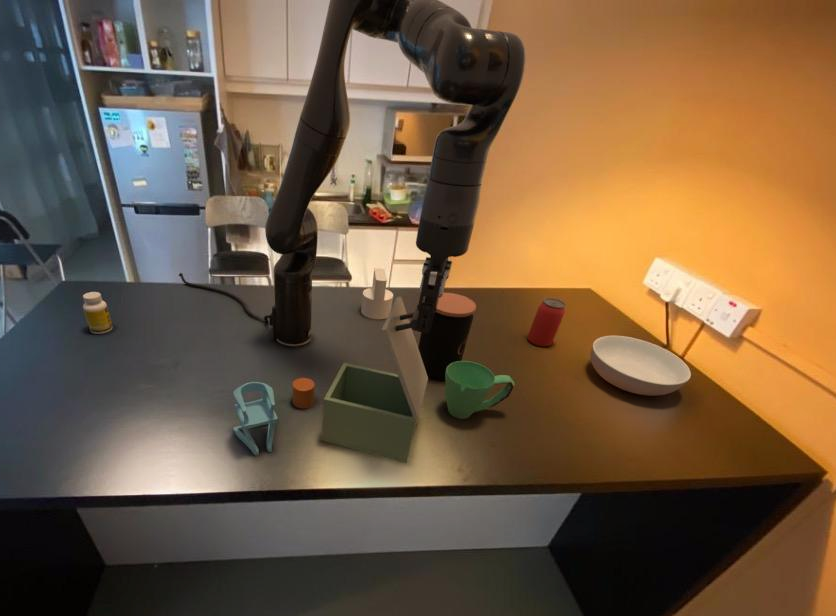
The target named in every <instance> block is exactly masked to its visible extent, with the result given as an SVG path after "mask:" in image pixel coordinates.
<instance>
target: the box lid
mask: <svg viewBox="0 0 836 616" xmlns="http://www.w3.org/2000/svg"><path fill="white" fill-rule="evenodd" d="M418 315H419V311H418V308H417V307H416V308H415V309H414V311H413V312H408V313H407V310H406V307H405V304H404V301H403V297H402V296H397V297H396V299H395V301H394V303H393V304H392V307H391V311H390V313H389V316H388V318H386V320H385V322H384V324H383V326H382V328H381V333H382V335H383V338H384V340H385V344H386V346H387V350H388V352H389V354H390V358H391V360H392V364H393V365H394V366H393V367H394V368H395V371H396V374H398V376H399V379H400V382H401V385H402V387H403V390H404V393H405V395H406V398H407V401H408V404H409V406H410V409H411V412H412V414H413V417H414V419H417V420H418V419H419V417H420V414H421V410H422V406H423V402H424V398H425V393H426V389H427V386H428V381H429V377H428V376H427V373H426V370H425V367H424V364H423V361H422V358H421V355H420V352H419V349H418V346H419V345H418V343H417V341H416V340H417V339H416V337H415V334H414V332H413V331H415V332H418V331H417V330H416V325H417V320H418ZM410 319H411V320H410Z"/></svg>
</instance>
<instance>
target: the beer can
mask: <svg viewBox="0 0 836 616" xmlns="http://www.w3.org/2000/svg"><path fill="white" fill-rule="evenodd" d="M565 313H566V303H565V302H564V301H562V300H561V299H558V298H553V297H547V298H544V299H543V300H542V301H541V303H540V304H539V306H538V307H537V310H536V313H535V315H534V318H533V321H532V324H531V326H530V329H529V332H528V335H527V340H528V341H529V342H530V343H531V344H533V345H534V346H536V347H537V346H538V347H542V348H543V347H545V348H546V347H550V346H552V344H553V343H554V340H555V337H556V335H557V332H558V331H559V328H560V326H561V323H562V321H563V318H564V316H565Z"/></svg>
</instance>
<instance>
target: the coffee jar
mask: <svg viewBox="0 0 836 616" xmlns="http://www.w3.org/2000/svg"><path fill="white" fill-rule="evenodd" d="M476 309H477V304H476V303H475V302H474V301H473V300H472V299H471V298H469V297H467V296H465V295H461V294H458V293H453V292H443V295H442V297H440V298H439V300H438V304H437V310H436V311H435V313H434V316H433V321H432V325H431V330H430V332H429V333H423V332H420V337H419V342H418V345H417V346H418V349H419V352H420V355H421V358H422V361H423V364H424V367H425V370H426V373H427V376H428V379H433V380H437V381H438V380H439V381H445V372H446V369H447V366H448V365H450V364H451V363H453V362H457V361H463V356H464V353H465V348H466V345H467V342H468V339H469V334H470V331H471V327H472V324H473V320H474V314H475V312H476Z"/></svg>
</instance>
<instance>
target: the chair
mask: <svg viewBox="0 0 836 616" xmlns="http://www.w3.org/2000/svg"><path fill="white" fill-rule="evenodd" d="M256 391H257V392H260V391H261V392H262V395H261V398H260V399H256V400H252V401H248V402H245V401H244V397H243V395H245V394H247V393H251V392H256ZM233 396H234V398H235V400H236V403H235V404H234V410H235V412H236V414H237V418H238V420H239V423H240V425H238V426H237V425H236V426H234V427H233V433H234V435H235V436H236V437H237V438H238V439H239V440H240V441H241V442H242V443H243V444H244V445H245V446H246V447H247V448H248V449H249V450H250V451H251V452H252V454H253V455H254V456H255V457H257V456H259V455H260V450H259V447H258V445H257V444H256V441H255V440H254V438H253V436H252V434H251V433H250V431H249V430H250V429H254V428H258V427H263V426H266V425H267V426H268V427H267V434H266V440H265V441H266V442H265V443H266V451H267V452H268V453H272V452H273V441H274V435H275V429H276V425H277V423H278V422H279V418H278V415H277V413H276V412H275V408H276V401H275V394H274V390H273V387H272V386H271V385H269V384H267V383H265V382H259V381H250V382H247V383H244V384H242V385H240V386H238V387H237V388H235V390H233ZM267 396H268V397H267ZM242 431H243V432H242Z"/></svg>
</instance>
